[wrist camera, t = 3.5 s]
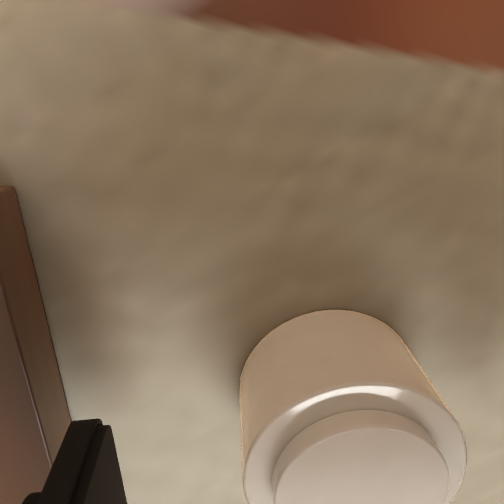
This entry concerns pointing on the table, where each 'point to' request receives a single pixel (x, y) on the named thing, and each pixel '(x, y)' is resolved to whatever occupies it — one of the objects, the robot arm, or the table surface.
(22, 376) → the game board
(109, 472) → the robot arm
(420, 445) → the white stone
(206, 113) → the table surface
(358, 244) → the table surface
